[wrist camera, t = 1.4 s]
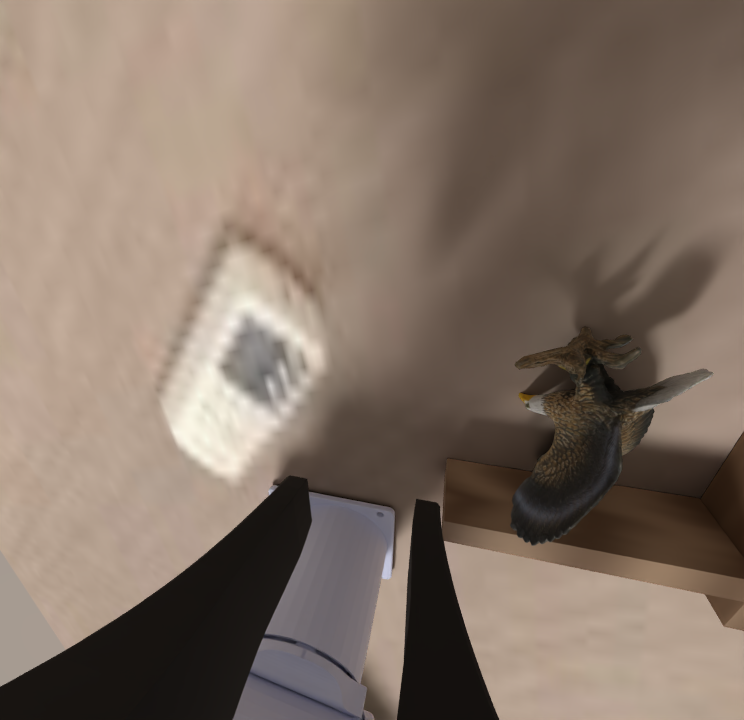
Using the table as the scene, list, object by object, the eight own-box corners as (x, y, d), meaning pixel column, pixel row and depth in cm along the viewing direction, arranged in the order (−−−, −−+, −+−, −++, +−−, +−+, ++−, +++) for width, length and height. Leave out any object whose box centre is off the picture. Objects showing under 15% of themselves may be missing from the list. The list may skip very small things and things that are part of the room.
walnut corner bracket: (441, 498, 23) (437, 563, 19) (476, 248, 15) (481, 273, 12) (703, 545, 20) (761, 634, 16) (903, 267, 13) (1100, 308, 9)
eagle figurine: (457, 344, 17) (473, 504, 19) (591, 381, 10) (590, 621, 12) (581, 314, 19) (582, 461, 21) (761, 328, 12) (734, 543, 14)
